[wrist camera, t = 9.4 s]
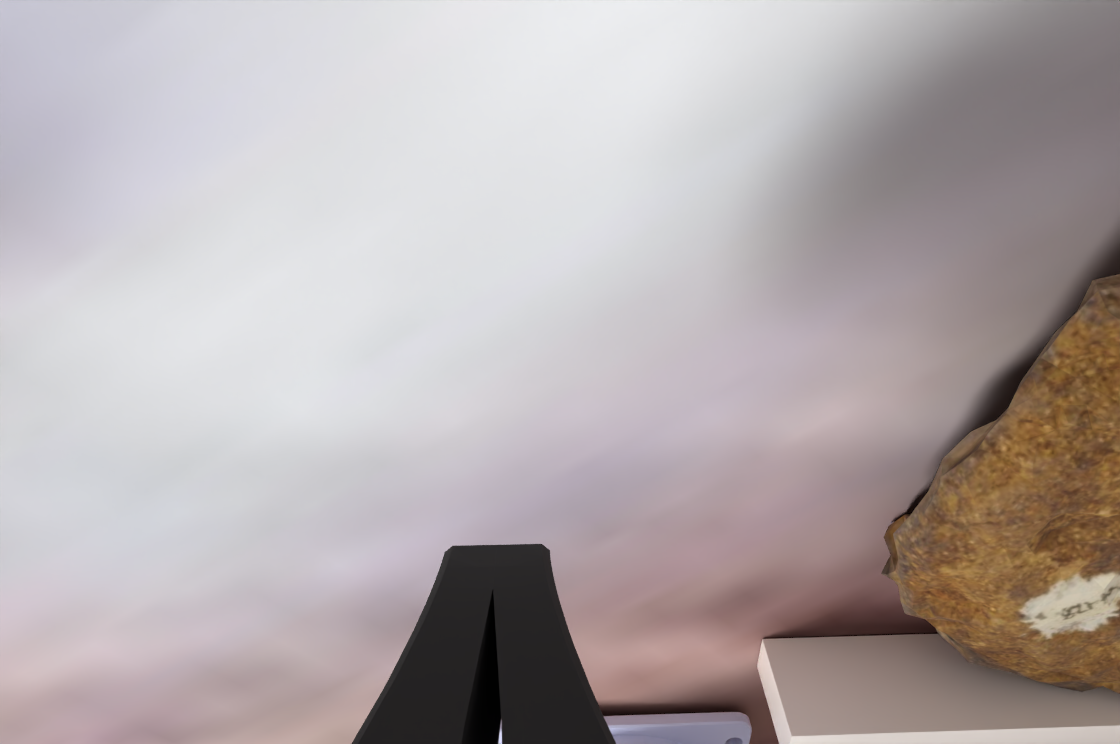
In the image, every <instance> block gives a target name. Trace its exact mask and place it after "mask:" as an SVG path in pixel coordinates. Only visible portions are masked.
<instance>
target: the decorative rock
mask: <svg viewBox="0 0 1120 744" xmlns="http://www.w3.org/2000/svg"><path fill="white" fill-rule="evenodd" d="M884 539H885V541H886V544H887V546H888V549H889V551H890V554H891V555H890V557H889V559H888V561H887V563H886V565H885V567H884V569H883V571H882V573H881V574H883V575H885V576H887V577H889V578H891V579H892V580H894V581H895V583H896V584H897V585H898V588H899V594H900V601H901V604H902V607H903V610H904V612H905V614H908V615H912V616H915V617H919V618H922V619H926V620H927V621H928V622H929V623H930V624H932V625H933V626H934V627H935V628H936V630H937V632H938V634H939V635H940V636H941V637H942V638H943V639H944V640H946V641H947V642H948V643H949V644H950V645H952V646H953V647H954V648H955V649H956V650H957V651H958V652H959V653H960V654H961V655H962V656H963V657H964V658H965V660H966V661H967V662H968V663H970V664H974V665H979V666H983V667H988V668H992V669H997V670H1001V671H1006V672H1010V673H1013V674H1016V675H1019V676H1023V677H1026V678H1029V679H1032V680H1035V681H1038V682H1043V683H1048V684H1051V685H1054V686H1057V687H1060V688H1065V689H1070V690H1075V691H1080V692H1083V691H1087V690H1091V689H1094V688H1098V687H1102V686H1104V687H1106V688H1108V689H1110V690H1112V691H1114V692H1116V693H1119V694H1120V274H1117V275H1113V276H1109V277H1104V278H1100V279H1095V280H1092V282H1091V284H1090V286H1089V288H1088V290H1087V292H1086V294H1085V296H1084V298H1083V300H1082V303H1081V305H1080V307H1079V309H1078V311H1077V312H1076V313H1075V314H1074V315H1073V316H1072V317H1071V318H1070V319H1068V320H1067V321H1066V322H1065V323H1064V324H1063V325H1062V326H1061V327H1060V328H1059V329H1058V330H1057V331H1056V332H1055V333H1054V335H1053V336H1052V338H1051V339H1050V341H1049V342H1048V343H1047V345H1046V346H1045V348H1044V349H1043V351H1042V352H1041V353H1040V355H1039V356H1038V358H1037V359H1036V361H1035V362H1034V363H1033V365H1032V366H1031V368H1030V369H1029V371H1028V372H1027V373H1026V375H1025V376H1024V378H1023V379H1022V381H1021V382H1020V384H1019V386H1018V388H1017V391H1016V393H1015V395H1014V397H1013V399H1012V401H1011V403H1010V405H1009V407H1008V408H1007V409H1006V411H1005V412H1004V413H1003V414H1002V415H1001V416H1000V417H999V418H998V419H997V420H996V421H993V422H991V423H988V424H986V425H984V426H982V427H980V428H977V429H975V430H973V431H971V432H970V433H969V434H968V435H967V436H966V437H965V438H964V439H962V440H961V441H960V442H959V443H958V444H957V445H956V446H955V447H954V448H953V449H952V450H951V451H950V452H949V453H948V454H947V455H946V456H945V457H944V458H943V459H942V462H941V464H940V466H939V468H938V471H937V473H936V475H935V477H934V480H933V482H932V484H931V486H930V489H929V491H928V492H927V494H926V495H925V496H924V498H923V499H922V500H921V502H920V503H919V504H918V506H917V507H916V508H915V509H914V511H913V512H912V514H906V515H904V516H902V517H901V518H899V519H898V520H897V521H895V522H894V523H892V524H891V525H890V526H889V527H888V529H887V531H886V533H885V536H884Z"/></svg>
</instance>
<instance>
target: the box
mask: <svg viewBox="0 0 1120 744" xmlns="http://www.w3.org/2000/svg"><path fill="white" fill-rule="evenodd" d="M757 668H758V671H759V675H760V678H761V682H762V685H763V689H764V692H765V696H766V699H767V703H768V706H769V710H770V713H771V717H772V720H773V724H774V727H775V731H776V734H777V738H778V741H779V744H1120V694H1119V693H1116V692H1114V691H1112V690H1110V689H1108V688H1106V687H1104V686H1102V687H1098V688H1094V689H1091V690H1087V691H1083V692H1080V691H1075V690H1070V689H1065V688H1060V687H1057V686H1054V685H1051V684H1048V683H1043V682H1038V681H1035V680H1032V679H1029V678H1026V677H1023V676H1019V675H1016V674H1013V673H1010V672H1006V671H1001V670H997V669H992V668H988V667H983V666H979V665H974V664H970V663H968V662H967V661H966V660H965V658H964V657H963V656H962V655H961V654H960V653H959V652H958V651H957V650H956V649H955V648H954V647H953V646H952V645H950V644H949V643H948V642H947V641H946V640H944V639H943V638H942V637H941V636H940V635H939V634H910V635H877V636H844V637H811V638H778V639H762V644H761V649H760V654H759V659H758V664H757Z"/></svg>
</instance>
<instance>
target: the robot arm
mask: <svg viewBox="0 0 1120 744" xmlns="http://www.w3.org/2000/svg"><path fill="white" fill-rule="evenodd" d="M751 732H752V728H751V724H750V720H749V717H748V716H747V715H745V714H743V713H741V712H712V713H681V714H650V715H620V716H603V714H602V712H601V710H600V708H599V705H598V703H597V701H596V699H595V696H594V694H593V692H592V689H591V687H590V685H589V682H588V680H587V677H586V675H585V672H584V669H583V667H582V664H581V662H580V659H579V657H578V654H577V652H576V649H575V647H574V644H573V641H572V638H571V636H570V633H569V630H568V627H567V624H566V621H565V617H564V614H563V611H562V608H561V605H560V601H559V598H558V594H557V590H556V586H555V582H554V577H553V572H552V567H551V560H550V550H549V549H547V548H546V547H545V546H544V545H542V544H520V545H474V546H452V547H451V548H450V549H448V550H447V551H446V552H445V554H444V557H443V560H442V563H441V566H440V569H439V572H438V575H437V577H436V580H435V583H434V585H433V588H432V590H431V593H430V595H429V597H428V600H427V602H426V605H425V607H424V609H423V611H422V613H421V616H420V618H419V620H418V622H417V624H416V626H415V629H414V631H413V633H412V635H411V637H410V639H409V641H408V643H407V645H406V647H405V649H404V651H403V652H402V654H401V656H400V658H399V660H398V662H397V664H396V666H395V668H394V670H393V672H392V674H391V676H390V678H389V680H388V682H387V684H386V685H385V687H384V689H383V691H382V693H381V694H380V696H379V698H378V699H377V701H376V703H375V705H374V706H373V708H372V710H371V711H370V713H369V715H368V717H367V718H366V720H365V722H364V723H363V725H362V727H361V729H360V730H359V732H358V734H357V735H356V737H355V739H354V741H353V742H352V744H749V742H750V737H751Z"/></svg>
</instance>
